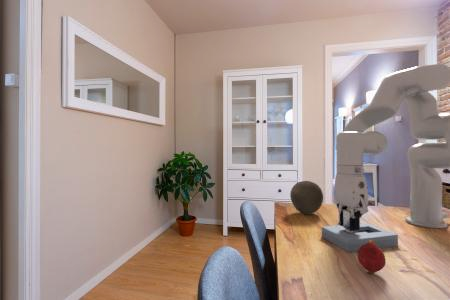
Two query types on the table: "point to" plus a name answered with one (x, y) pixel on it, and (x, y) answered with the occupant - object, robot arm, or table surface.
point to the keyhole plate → (359, 236)
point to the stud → (347, 220)
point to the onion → (371, 257)
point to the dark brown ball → (306, 197)
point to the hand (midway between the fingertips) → (349, 227)
